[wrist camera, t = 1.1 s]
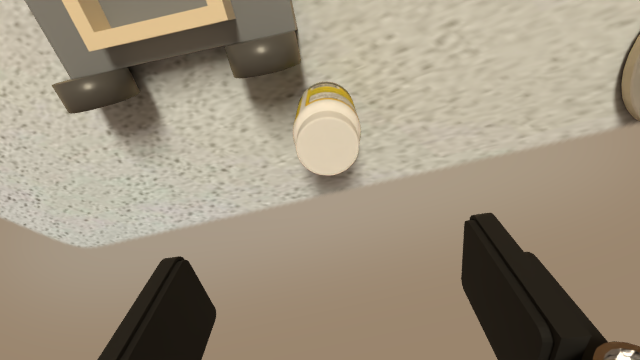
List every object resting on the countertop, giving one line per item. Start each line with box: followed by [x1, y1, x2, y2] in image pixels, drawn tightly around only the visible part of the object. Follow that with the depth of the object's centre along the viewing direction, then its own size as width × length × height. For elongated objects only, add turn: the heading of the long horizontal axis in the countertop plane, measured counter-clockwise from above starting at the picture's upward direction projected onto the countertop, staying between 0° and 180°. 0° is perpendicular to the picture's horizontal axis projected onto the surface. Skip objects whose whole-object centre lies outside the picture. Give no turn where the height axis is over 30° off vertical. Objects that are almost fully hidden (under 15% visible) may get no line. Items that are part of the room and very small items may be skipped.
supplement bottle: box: [293, 82, 361, 176], centre depth 22 cm, size 5×5×8 cm
